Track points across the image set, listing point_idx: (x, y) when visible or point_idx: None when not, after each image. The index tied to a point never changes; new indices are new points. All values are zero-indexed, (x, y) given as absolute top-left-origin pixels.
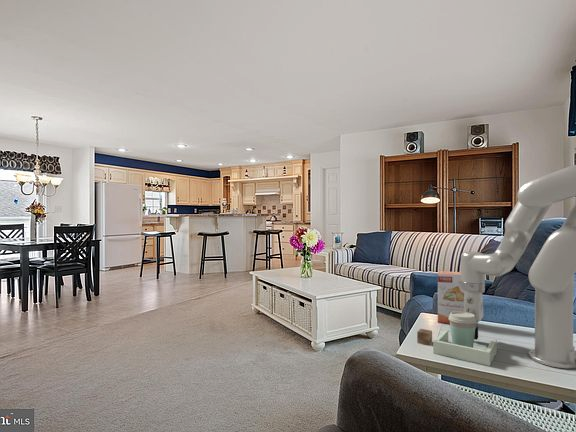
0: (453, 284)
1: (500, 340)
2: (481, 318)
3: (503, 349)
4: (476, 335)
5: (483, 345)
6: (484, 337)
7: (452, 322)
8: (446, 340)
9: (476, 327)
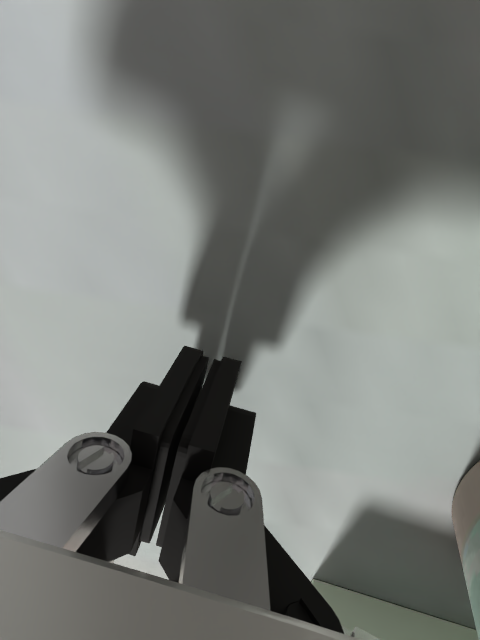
0: None
1: (13, 33)
2: (119, 589)
3: (398, 38)
4: (231, 393)
5: (311, 286)
6: (3, 234)
7: None
8: (380, 630)
9: (210, 477)
